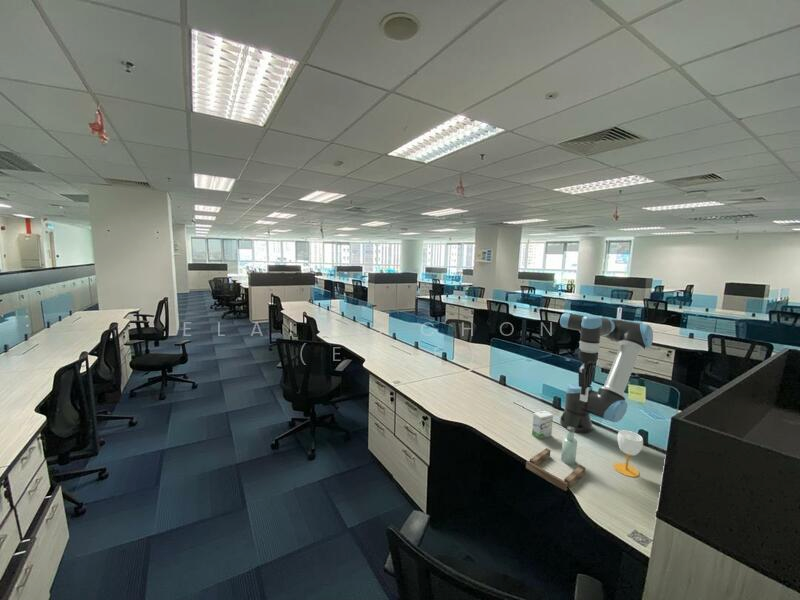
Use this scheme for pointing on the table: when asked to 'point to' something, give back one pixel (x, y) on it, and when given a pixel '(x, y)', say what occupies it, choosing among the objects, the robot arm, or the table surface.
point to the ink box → (542, 424)
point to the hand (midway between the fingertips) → (583, 400)
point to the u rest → (548, 476)
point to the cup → (628, 451)
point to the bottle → (569, 447)
